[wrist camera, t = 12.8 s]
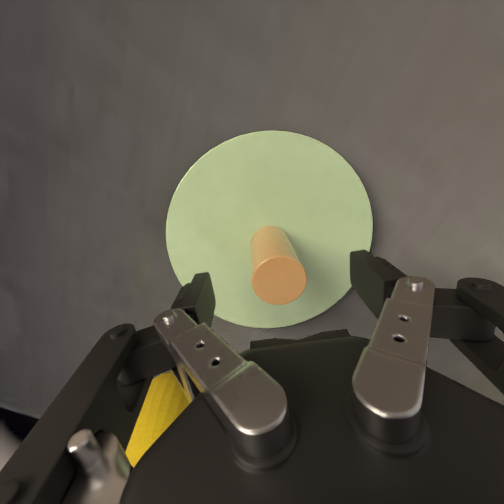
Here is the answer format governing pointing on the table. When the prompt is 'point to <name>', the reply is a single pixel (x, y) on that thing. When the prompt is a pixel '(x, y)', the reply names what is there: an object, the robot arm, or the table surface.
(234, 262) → the lid
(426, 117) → the table surface
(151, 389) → the lemon
